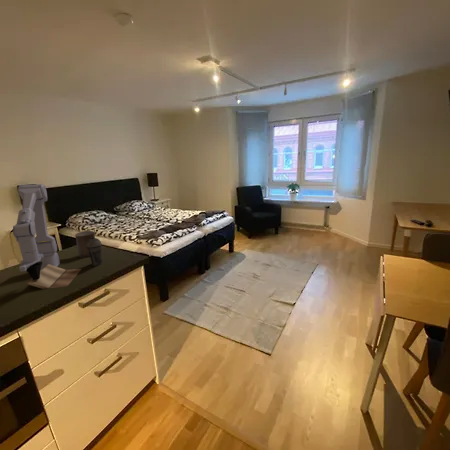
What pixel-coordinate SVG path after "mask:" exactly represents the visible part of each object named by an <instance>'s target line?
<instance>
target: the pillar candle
mask: <svg viewBox="0 0 450 450" xmlns="http://www.w3.org/2000/svg"><path fill="white" fill-rule="evenodd" d="M74 236H75V242H76V248H77V250H78V251H77V252H78V257H79V258H80V259H86V258H87V259H88V258H90V255H89V251H88V249H87V242H88V240H90V239H91V238H94V230H84V231H79V232H77V233H75V234H74Z"/></svg>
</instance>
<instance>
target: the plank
mask: <svg viewBox="0 0 450 450" xmlns="http://www.w3.org/2000/svg"><path fill="white" fill-rule="evenodd" d="M66 270H67V269H65V268H61V267H58V266H57V267H56V266H53V265H50V264H48V265H47V266H46V267H44V268H43V269H42V270H40V278H39V279H38V280H33V279H32V278H30V279H29V280H28V281H27V283H26V285H28V286H32V287H36V288H39V289H42V290H44V289H50V287H51V286H52V285H53V284H54V283H55V282H56V281H57V280H58V279H59V278H60V277H61V276H62V275H63V273H64V272H65V271H66Z"/></svg>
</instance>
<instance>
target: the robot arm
mask: <svg viewBox="0 0 450 450" xmlns="http://www.w3.org/2000/svg"><path fill="white" fill-rule="evenodd" d="M17 192H18V196H19V197H20V198H21V200H22V209H20V210H19V211H18V215H17V220H16V223H15V225H13V226H12V234H13V236H14V238H15V240H16V242H17V243H18V246H19V250H20V253H21V258H22V259H21V260H20V261H19V262H20V263H21V264H20V266H19V272H27V274H29V276H30V277H31V279H33V280H38V279H39V278H40V271H41V270H42V269H43V268H44V267H46V266H47V265H48V264H50V265H53V266H56V267H58V266H59V265H61V263H60V262H61V261H60V257H59V253H57V252H58V244H57V242H56V238H55V237H54V236H52V235H49V233H48V225H47V219H46V211H45V202H48V192H47V187H46V186H45V185H44V184H43V183H39V184H20V185H19V186H18V187H17Z"/></svg>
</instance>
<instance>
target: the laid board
mask: <svg viewBox="0 0 450 450" xmlns="http://www.w3.org/2000/svg"><path fill="white" fill-rule="evenodd" d="M65 270H66V271H65V272H64V273H63V274H62V275H61V276H60V277H59V278H58V279H57V280H56V281H55V282H54V283H53V284H52V285H51V286H50V287H49V289H56V288H67V287H68V286H69V285H70V284H71V283H72V281H73V280H74V279H75V277H77V275H78V274H79V273H80V271H81V270H82V268H77V269H75V268H74V269H65Z"/></svg>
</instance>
